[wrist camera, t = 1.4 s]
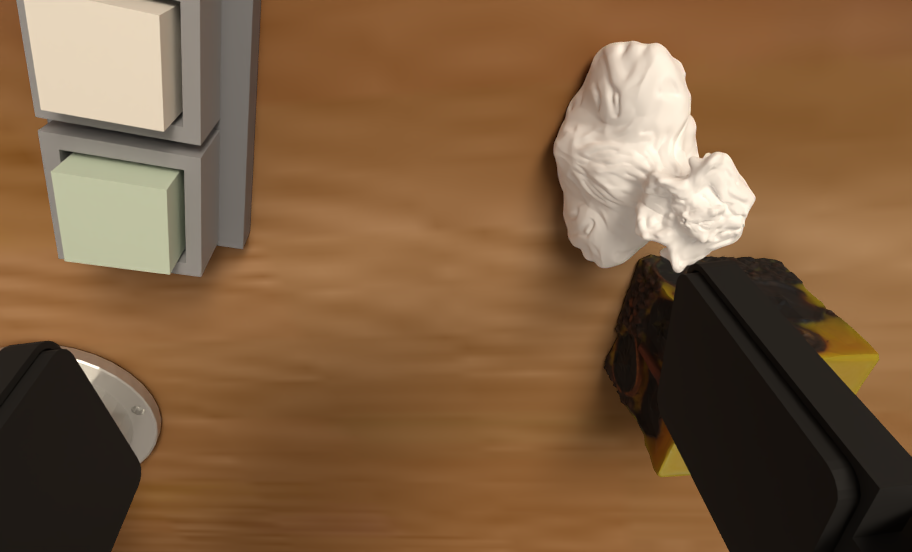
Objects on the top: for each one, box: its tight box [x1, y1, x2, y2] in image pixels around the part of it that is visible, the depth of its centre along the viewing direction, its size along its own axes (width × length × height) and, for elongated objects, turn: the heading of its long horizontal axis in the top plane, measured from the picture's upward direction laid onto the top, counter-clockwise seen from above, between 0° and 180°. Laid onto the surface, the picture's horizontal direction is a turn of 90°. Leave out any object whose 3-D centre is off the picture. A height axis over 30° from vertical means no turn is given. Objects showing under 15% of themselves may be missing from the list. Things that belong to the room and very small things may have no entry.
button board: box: [16, 0, 261, 277], centre depth 25 cm, size 21×9×6 cm, turn 167°
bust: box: [553, 41, 755, 273], centre depth 29 cm, size 12×8×11 cm
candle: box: [604, 255, 879, 477], centre depth 37 cm, size 10×10×10 cm
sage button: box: [51, 152, 186, 275], centre depth 26 cm, size 4×4×3 cm
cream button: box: [24, 0, 183, 132], centre depth 23 cm, size 4×4×3 cm
